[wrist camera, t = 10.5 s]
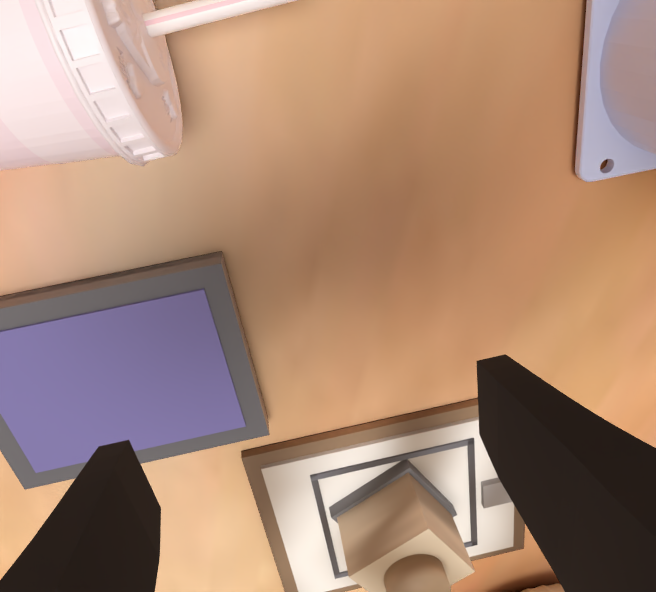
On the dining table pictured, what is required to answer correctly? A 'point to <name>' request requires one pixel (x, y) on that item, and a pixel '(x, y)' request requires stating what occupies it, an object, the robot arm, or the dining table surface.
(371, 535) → the stamp
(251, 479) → the clipboard
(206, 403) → the ink tray
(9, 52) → the smoothie
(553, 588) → the canister
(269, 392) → the dining table surface
